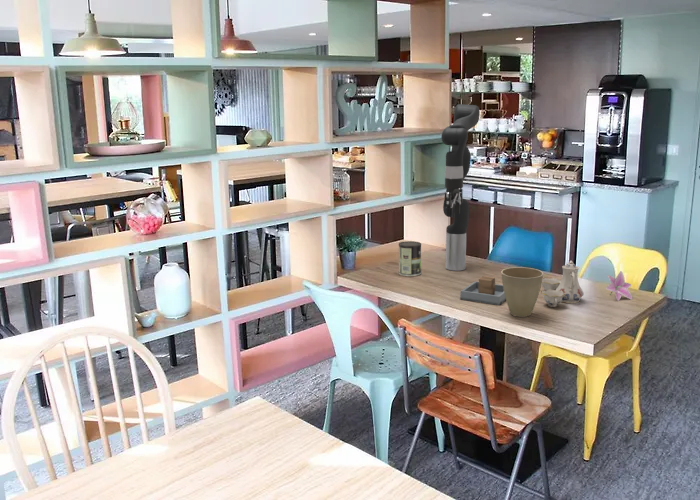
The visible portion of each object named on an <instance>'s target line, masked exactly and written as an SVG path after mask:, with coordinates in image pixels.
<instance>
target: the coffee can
mask: <svg viewBox="0 0 700 500" xmlns="http://www.w3.org/2000/svg"><path fill="white" fill-rule="evenodd" d="M421 274H422V242H419V241H415V240H414V241H412V240H407V241H406V240H405V241H401V242H400V241H399V243H398V275H400V276H403V277H418V276H419V275H421Z"/></svg>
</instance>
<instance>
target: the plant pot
mask: <svg viewBox="0 0 700 500" xmlns="http://www.w3.org/2000/svg"><path fill="white" fill-rule="evenodd" d="M500 273H501V280H502V283H501V284H502V285H503V289H504V293H505V298H506V300H505V301H506V304H507V307H508V310H509V313H510V315H512V316H514V317H520V318H523V317H525V318H526V317H530V316H531V315H532V312H533V310H534V308H535V306H536V304H537V301H538V297H539V294H540V292H541V287H542V279H543V278H544V272H543V271H541V270H540V269H537V268H533V267H532V268H531V267H523V266H522V267H521V266H519V267H518V266H517V267H508V268H504V269H502V270H501V272H500Z"/></svg>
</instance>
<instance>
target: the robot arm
mask: <svg viewBox="0 0 700 500" xmlns="http://www.w3.org/2000/svg"><path fill="white" fill-rule="evenodd" d="M453 113H454V114H453V123H452V124H451V125H449V126H447V127H445V128H444V129H443V131H442V132H441V141H442V143H443V144H444V145H446V146H451V150H450V151H448V152H446V153H445V168H444V169H445V170H444V188H445V189H446V190H445V192H444V199H443V205H442V209H443V210H442V211H443V214H444V215H445V216H446V217H449V218H453V223H452V224H449V225H447V226H446V227H445V228H446V229H445V234H446V235H445V270H448V271H454V272H455V271H457V272H458V271H464V270H466V264H467V263H466V261H467V260H466V259H467V257H466V256H467V232H468V231H467V229H468V227H469V219H470V218H469V217H470V204H469V202H468V200H467V199H465V198H463V197H464V195H463V191H464V190H463V188H464V181H465V178H466V177H467V176H468V174H469V172H470V169H471V168H470V167H471V159H472V154H471V152H470V149H469V147H468V145H467V141H468V139H469V134H468V131H469V130H471V129H472V128H474V127H475V126H476V125H477V124H478V123H479V120H480V116H481V115H480V107H479V106H477V105H475V104H462V103H459V104H458V103H457V104H456V106H455V108H454V112H453Z"/></svg>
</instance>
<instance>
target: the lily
mask: <svg viewBox="0 0 700 500" xmlns="http://www.w3.org/2000/svg"><path fill="white" fill-rule="evenodd" d="M624 276H625V275H624V273H623V271H622V270H620V271H619V272H618V274H617V275H616V277H614V276H612V275H609V274H607V277H608V279H609V282H610V283H609V284H608V285H607V286H606V287H605V290H607V291H609V292H610V291H611V292H610V294H609V296H611V295H612V293H614V294H615V297H616V301H617V302H619V301H620V300H621V298H622V296H624V297H625V298H627V299H628V300H629V299H630V300H633V296H632V294H631V292H630V290H629V288H631V286H632V284H631V283H629V282H626V280H625V277H624Z"/></svg>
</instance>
